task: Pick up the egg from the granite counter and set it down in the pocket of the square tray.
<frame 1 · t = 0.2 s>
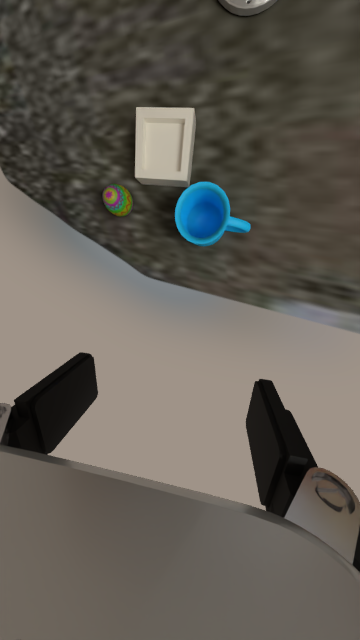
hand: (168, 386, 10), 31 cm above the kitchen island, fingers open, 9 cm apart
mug: (214, 225, 35), on the kitchen island
square tray: (167, 155, 32), on the kitchen island
egg: (124, 204, 36), on the kitchen island
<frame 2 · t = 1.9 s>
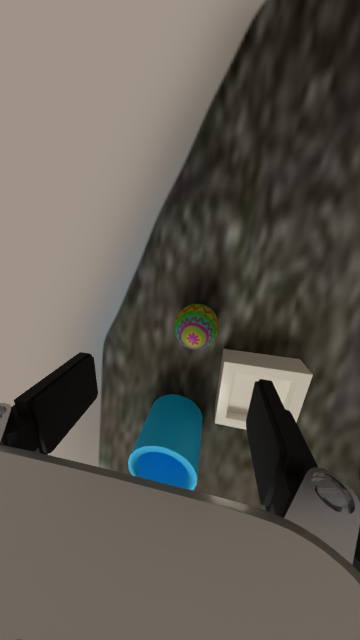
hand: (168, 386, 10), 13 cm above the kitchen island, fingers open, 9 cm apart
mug: (174, 423, 29), on the kitchen island
square tray: (253, 383, 24), on the kitchen island
egg: (198, 319, 23), on the kitchen island
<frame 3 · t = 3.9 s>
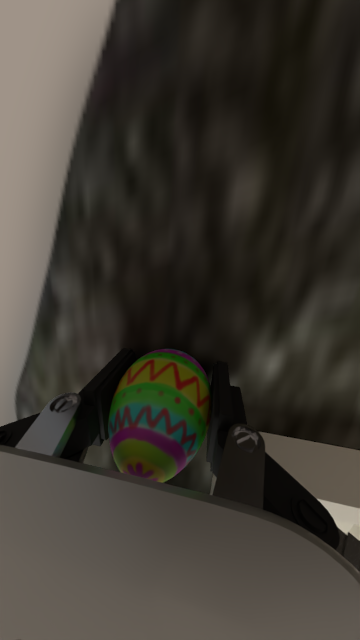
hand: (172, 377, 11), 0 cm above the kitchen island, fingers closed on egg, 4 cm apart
square tray: (277, 483, 13), on the kitchen island
egg: (174, 370, 12), on the kitchen island, touching gripper
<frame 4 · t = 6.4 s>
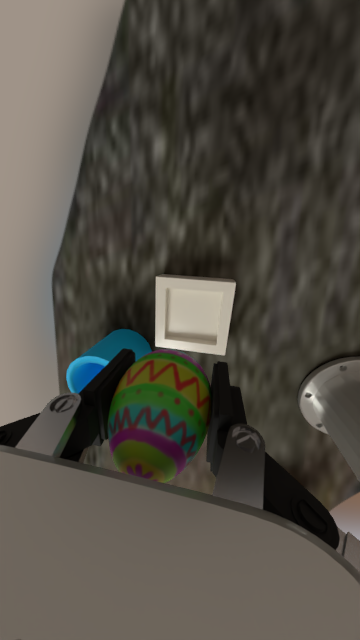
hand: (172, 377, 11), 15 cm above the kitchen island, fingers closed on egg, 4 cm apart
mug: (127, 362, 30), on the kitchen island
square tray: (194, 310, 25), on the kitchen island
egg: (173, 371, 12), point 14 cm above the kitchen island, touching gripper
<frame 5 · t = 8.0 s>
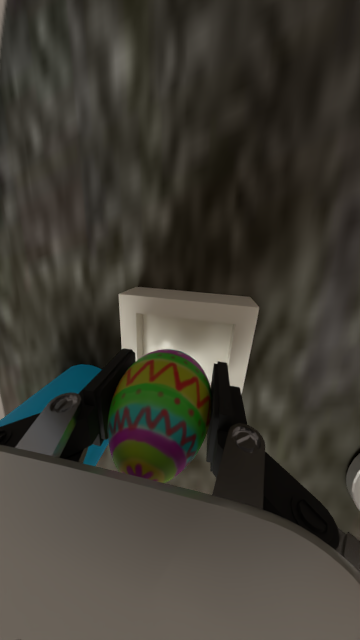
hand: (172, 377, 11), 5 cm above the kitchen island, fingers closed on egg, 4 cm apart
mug: (94, 408, 21), on the kitchen island
square tray: (187, 342, 16), on the kitchen island
egg: (173, 371, 12), point 5 cm above the kitchen island, touching gripper
when the fingers open (4 cm above the kitchen island, at t = 9.1 s): egg drops 1 cm, resting on square tray.
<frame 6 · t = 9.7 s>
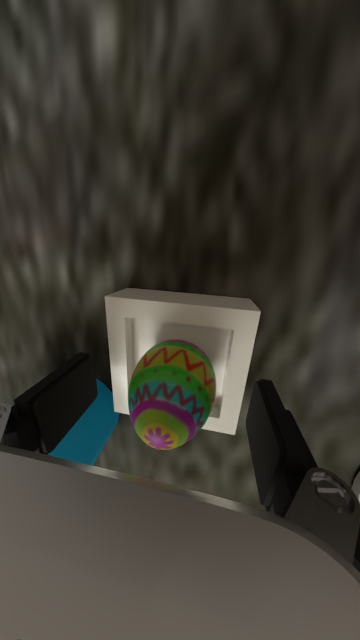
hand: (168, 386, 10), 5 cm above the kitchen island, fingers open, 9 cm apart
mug: (84, 416, 20), on the kitchen island
square tray: (182, 347, 15), on the kitchen island
egg: (180, 360, 13), point 2 cm above the kitchen island, touching square tray
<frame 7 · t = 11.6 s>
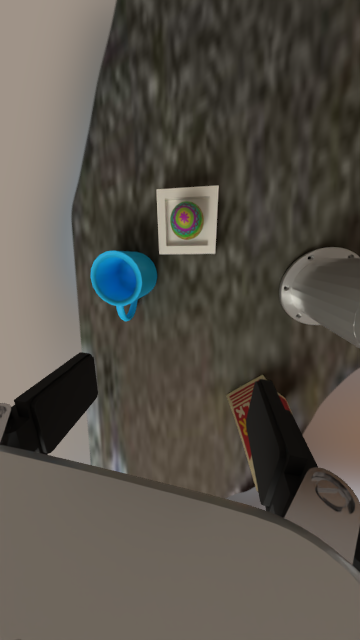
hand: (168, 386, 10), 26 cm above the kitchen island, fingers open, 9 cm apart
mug: (136, 284, 36), on the kitchen island
milk carton: (256, 397, 40), on the kitchen island
square tray: (189, 225, 31), on the kitchen island
egg: (189, 224, 29), point 2 cm above the kitchen island, touching square tray
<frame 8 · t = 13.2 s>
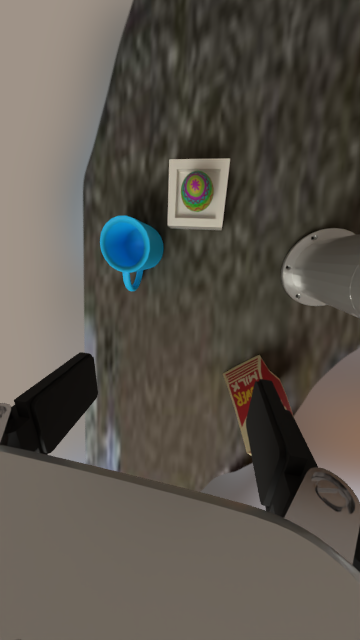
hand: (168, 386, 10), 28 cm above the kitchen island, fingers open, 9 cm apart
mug: (142, 257, 37), on the kitchen island
milk carton: (251, 377, 41), on the kitchen island
square tray: (198, 200, 32), on the kitchen island
egg: (198, 197, 30), point 2 cm above the kitchen island, touching square tray
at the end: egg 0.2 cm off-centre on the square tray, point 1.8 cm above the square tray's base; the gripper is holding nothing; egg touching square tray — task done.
